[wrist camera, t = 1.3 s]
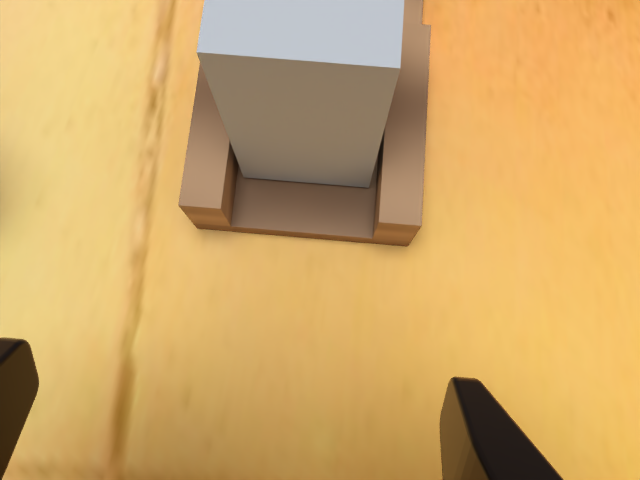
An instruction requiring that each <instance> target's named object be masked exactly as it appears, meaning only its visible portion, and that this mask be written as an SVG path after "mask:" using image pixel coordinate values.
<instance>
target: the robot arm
mask: <svg viewBox="0 0 640 480" xmlns="http://www.w3.org/2000/svg"><path fill="white" fill-rule="evenodd" d="M38 387H39V378H38V373H37V370H36V366H35V362H34V358H33V354H32V351H31V347H30V345H29V343H28V342H27V341H26V340H23V339H15V338H4V337H3V338H0V480H2V478H3V475H4V473H5V471H6V468H7V466H8V463H9V461H10V458H11V456H12V454H13V451H14V449H15V446H16V444H17V441H18V439H19V436H20V434H21V432H22V429H23V427H24V424H25V422H26V419H27V417H28V414H29V412H30V409H31V407H32V405H33V402H34V400H35V397H36V395H37V391H38ZM440 443H441V460H442V476H443V480H563V478H562V477H561V476H560V475H559V474H558V473H557V471H556V470H555V469H554V468H553V467H552V465H551V464H550V463H549V462H548V461H547V459H546V458H545V457H544V456H543V455H542V454H541V452H540V451H539V450H538V449H537V448H536V446H535V445H534V444H533V443H532V442H531V440H530V439H529V438H528V437H527V436H526V435H525V433H524V432H523V431H522V430H521V429H520V427H519V426H518V425H517V424H516V423H515V421H514V420H513V419H512V418H511V417H510V416H509V414H508V413H507V412H506V411H505V410H504V408H503V407H502V406H501V405H500V404H499V403H498V401H497V400H496V399H495V398H494V397H493V395H492V394H491V393H490V392H489V391H488V389H487V388H486V387H485V386H484V385H483V384H482V382H481V381H479V380H478V379H475V378H464V377H453V378H451V379H450V381H449V383H448V387H447V391H446V395H445V399H444V403H443V407H442V411H441V415H440Z"/></svg>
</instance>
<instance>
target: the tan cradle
mask: <svg viewBox="0 0 640 480" xmlns="http://www.w3.org/2000/svg"><path fill="white" fill-rule="evenodd" d="M422 12H423V0H404V15H403V32H402V49H401V65H400V71H399V75H398V79H397V83H396V87H395V90H394V94H393V98H392V102H391V106H390V109H389V113H388V117H387V121H386V124H385V128H384V132H383V136H382V140H381V143H380V147H379V151H378V155H377V159H376V162H375V166H374V170H373V174H372V177H371V181H370V185H369V188H365V187H353V186H341V185H329V184H317V183H305V182H293V181H281V180H269V179H257V178H245V177H243V174H242V172H241V169H240V166H239V164H238V161H237V158H236V156H235V153H234V150H233V148H232V145H231V142H230V140H229V137H228V134H227V132H226V129H225V126H224V124H223V121H222V118H221V116H220V113H219V110H218V108H217V105H216V102H215V100H214V97H213V94H212V92H211V89H210V86H209V84H208V81H207V78H206V76H205V73H204V70H203V68H202V65H201V63H200V67H199V73H198V80H197V86H196V93H195V100H194V106H193V113H192V119H191V126H190V133H189V139H188V146H187V152H186V159H185V165H184V172H183V179H182V185H181V192H180V198H179V207H180V208H181V209H182V210H183V211H184V213H185V214H186V215H187V216H188V218H189V219H190V220H191V221H192V222H193V224H194V225H195V226H196V227H197V228H200V229H211V230H223V231H235V232H247V233H258V234H270V235H282V236H294V237H305V238H317V239H329V240H341V241H352V242H364V243H376V244H388V245H399V246H408V245H409V243H410V242H411V241H412V239H413V238H414V236H415V235H416V233H417V232H418V230H419V229H420V227H421V226H422V205H423V183H424V162H425V141H426V119H427V98H428V77H429V55H430V34H431V25H423V24H422Z"/></svg>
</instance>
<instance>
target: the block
mask: <svg viewBox="0 0 640 480" xmlns="http://www.w3.org/2000/svg"><path fill="white" fill-rule="evenodd" d="M403 15H404V0H205V1H204V7H203V14H202V20H201V27H200V33H199V40H198V46H197V55H198V57H199V60H200V63H201V65H202V68H203V70H204V73H205V76H206V78H207V81H208V84H209V86H210V89H211V92H212V94H213V97H214V100H215V102H216V105H217V108H218V110H219V113H220V116H221V118H222V121H223V124H224V126H225V129H226V132H227V134H228V137H229V140H230V142H231V145H232V148H233V150H234V153H235V156H236V158H237V161H238V164H239V166H240V169H241V172H242V174H243V177H245V178H257V179H269V180H281V181H293V182H305V183H317V184H329V185H341V186H353V187H365V188H369V185H370V181H371V177H372V174H373V170H374V166H375V162H376V159H377V155H378V151H379V147H380V143H381V140H382V136H383V132H384V128H385V124H386V121H387V117H388V113H389V109H390V106H391V102H392V98H393V94H394V90H395V87H396V83H397V79H398V75H399V71H400V65H401V49H402V32H403Z"/></svg>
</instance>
